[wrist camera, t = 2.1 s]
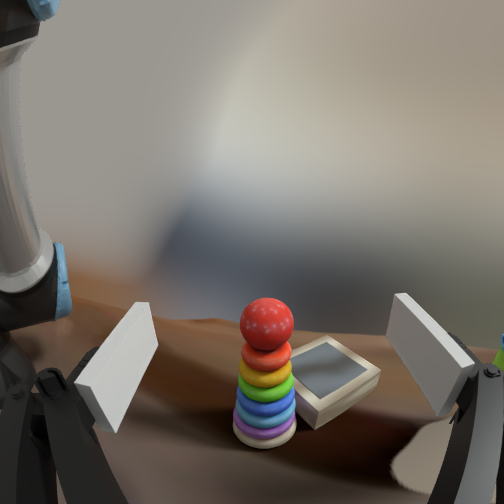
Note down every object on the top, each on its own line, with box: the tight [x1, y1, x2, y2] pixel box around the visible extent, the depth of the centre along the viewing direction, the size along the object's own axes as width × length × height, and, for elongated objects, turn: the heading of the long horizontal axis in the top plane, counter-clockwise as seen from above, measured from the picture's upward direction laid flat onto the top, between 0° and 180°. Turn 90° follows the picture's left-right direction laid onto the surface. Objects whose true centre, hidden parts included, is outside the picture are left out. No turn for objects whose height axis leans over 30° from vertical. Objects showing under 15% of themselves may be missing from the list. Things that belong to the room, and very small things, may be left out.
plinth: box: [290, 335, 381, 430], centre depth 36 cm, size 12×12×4 cm
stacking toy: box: [233, 298, 297, 449], centre depth 27 cm, size 8×8×19 cm
